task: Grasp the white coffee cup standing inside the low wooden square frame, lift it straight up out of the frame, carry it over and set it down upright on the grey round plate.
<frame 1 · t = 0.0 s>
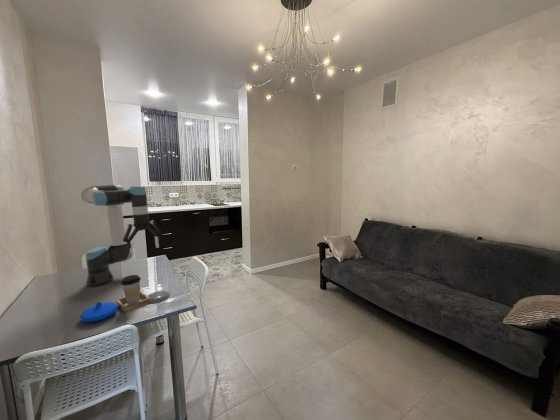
hand: (145, 250, 141), 28 cm above the table, fingers open, 13 cm apart
coffee cup: (133, 303, 138), resting in wooden square frame
grey round plate: (157, 297, 144), on the table
wooden square frame: (133, 303, 138), on the table
blue spouted lid: (100, 316, 127), on the table
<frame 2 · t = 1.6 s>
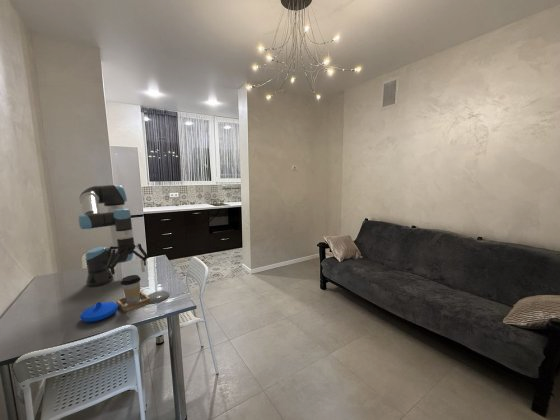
hand: (130, 275, 136), 16 cm above the table, fingers open, 13 cm apart
nothing on the table moved.
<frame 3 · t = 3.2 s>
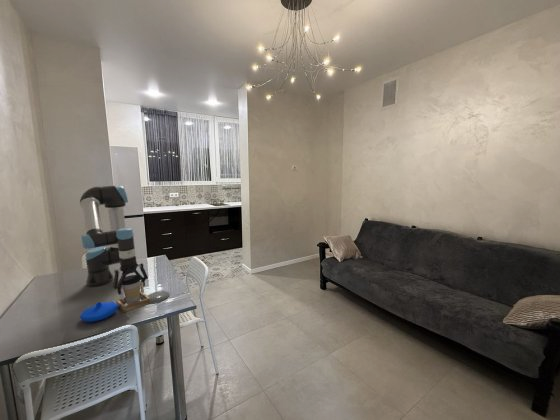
hand: (132, 295, 138), 5 cm above the table, fingers closed on coffee cup, 9 cm apart
coffee cup: (133, 303, 138), resting in wooden square frame, touching gripper
everything else where it was.
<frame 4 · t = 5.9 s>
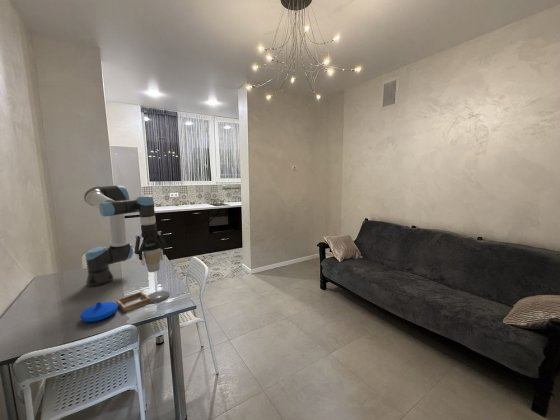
hand: (152, 262, 140), 21 cm above the table, fingers closed on coffee cup, 9 cm apart
coffee cup: (153, 270, 141), point 17 cm above the table, touching gripper
everything else where it was.
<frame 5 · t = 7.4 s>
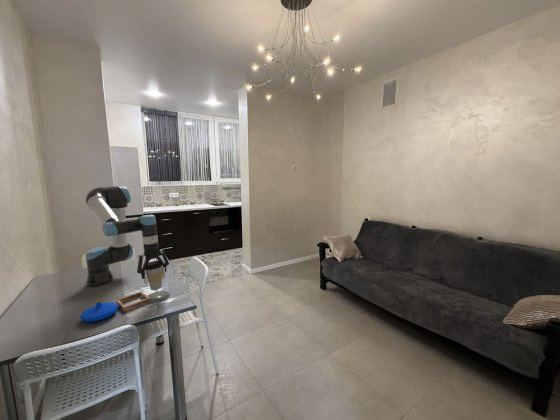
hand: (155, 280, 142), 11 cm above the table, fingers closed on coffee cup, 9 cm apart
coffee cup: (156, 288, 143), point 6 cm above the table, touching gripper
everything else where it was.
when the fingers open (6 cm above the table, at t = 8.6 s): coffee cup drops 1 cm, resting on grey round plate.
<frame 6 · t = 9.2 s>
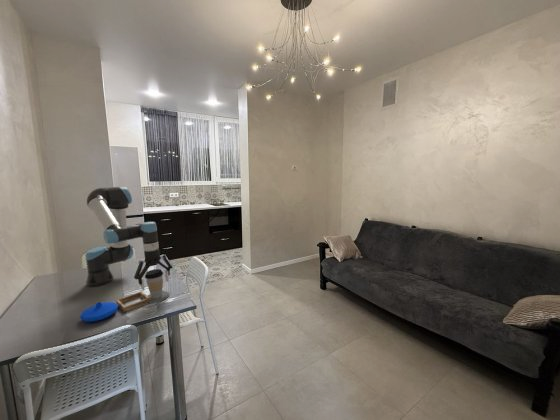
hand: (155, 285, 143), 8 cm above the table, fingers open, 13 cm apart
coffee cup: (156, 296, 144), point 1 cm above the table, touching grey round plate
everything else where it was.
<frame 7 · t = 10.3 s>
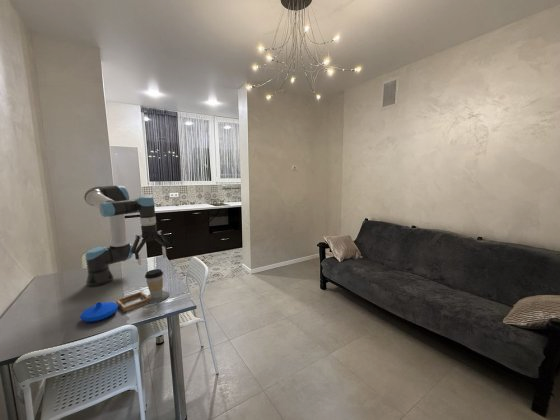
hand: (152, 261, 141), 22 cm above the table, fingers open, 13 cm apart
nothing on the table moved.
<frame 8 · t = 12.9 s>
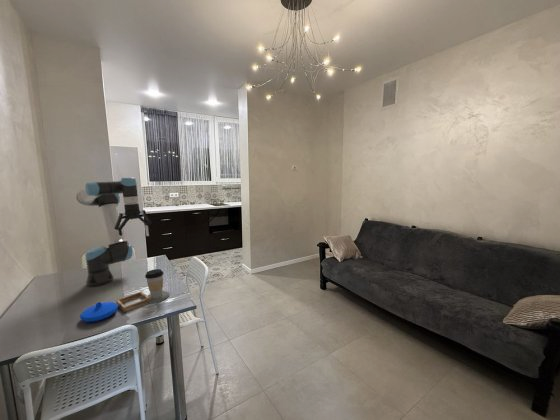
hand: (135, 238, 151), 33 cm above the table, fingers open, 13 cm apart
nothing on the table moved.
at the end: coffee cup inside the target area on the grey round plate (0.0 cm from its centre), point 0.6 cm above the grey round plate's base; coffee cup tilted 0°; coffee cup touching grey round plate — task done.
